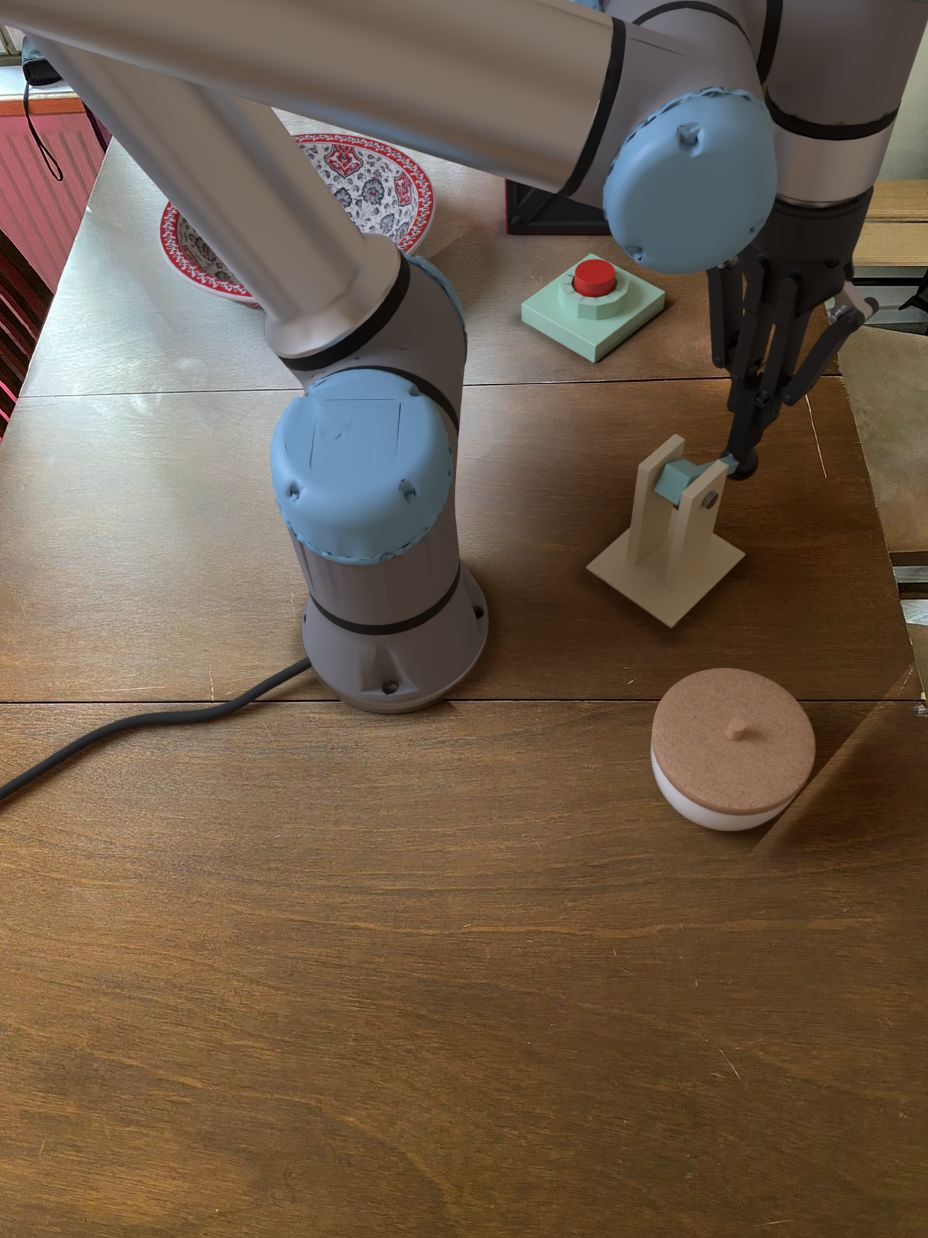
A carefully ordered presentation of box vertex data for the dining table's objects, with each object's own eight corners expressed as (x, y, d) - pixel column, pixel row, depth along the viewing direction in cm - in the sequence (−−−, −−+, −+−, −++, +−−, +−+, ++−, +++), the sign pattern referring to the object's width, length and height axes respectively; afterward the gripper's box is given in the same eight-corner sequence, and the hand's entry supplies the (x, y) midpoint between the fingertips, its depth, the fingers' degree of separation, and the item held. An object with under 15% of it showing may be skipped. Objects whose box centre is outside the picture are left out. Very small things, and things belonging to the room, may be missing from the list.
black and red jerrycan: (636, 185, 113) (654, -1, 97) (636, 238, 108) (655, 50, 91) (502, 185, 115) (497, 2, 98) (495, 237, 109) (489, 52, 93)
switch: (723, 466, 83) (739, 432, 81) (754, 484, 82) (771, 451, 80) (646, 492, 74) (663, 455, 72) (679, 513, 72) (697, 476, 71)
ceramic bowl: (131, 276, 109) (105, 212, 103) (335, 168, 119) (324, 103, 112) (280, 405, 96) (262, 341, 90) (496, 272, 106) (494, 205, 99)
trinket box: (691, 694, 75) (710, 628, 68) (817, 771, 71) (852, 710, 63) (613, 795, 71) (623, 737, 63) (742, 883, 67) (769, 833, 59)
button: (596, 303, 96) (597, 289, 95) (566, 287, 98) (566, 272, 97) (622, 284, 98) (623, 269, 96) (591, 268, 100) (592, 253, 98)
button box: (594, 363, 97) (596, 331, 94) (521, 320, 101) (520, 288, 98) (663, 309, 101) (668, 276, 98) (590, 269, 105) (592, 237, 102)
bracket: (659, 508, 86) (677, 401, 75) (743, 562, 82) (774, 457, 72) (585, 574, 82) (592, 472, 72) (669, 635, 79) (691, 536, 68)
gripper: (942, 186, 58) (839, 459, 77) (759, 112, 63) (706, 384, 83) (873, 245, 55) (784, 513, 75) (689, 163, 61) (651, 432, 80)
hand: (743, 445), depth 79 cm, fingers closed
